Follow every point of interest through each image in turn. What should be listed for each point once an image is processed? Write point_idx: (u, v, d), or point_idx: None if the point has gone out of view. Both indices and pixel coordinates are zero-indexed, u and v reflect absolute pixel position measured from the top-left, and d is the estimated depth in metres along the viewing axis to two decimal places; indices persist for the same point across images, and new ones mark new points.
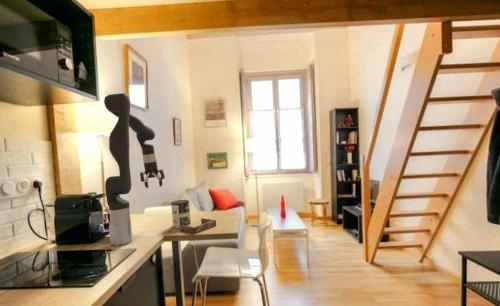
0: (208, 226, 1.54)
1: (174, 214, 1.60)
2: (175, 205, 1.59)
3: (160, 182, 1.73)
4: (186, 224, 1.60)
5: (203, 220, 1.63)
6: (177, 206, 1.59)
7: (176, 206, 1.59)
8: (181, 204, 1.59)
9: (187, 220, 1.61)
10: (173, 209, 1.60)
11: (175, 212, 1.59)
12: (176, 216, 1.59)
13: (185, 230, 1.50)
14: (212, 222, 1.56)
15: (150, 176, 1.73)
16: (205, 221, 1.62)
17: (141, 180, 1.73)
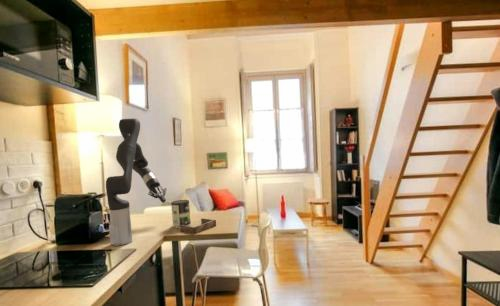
0: (208, 226, 1.54)
1: (174, 214, 1.60)
2: (175, 205, 1.59)
3: (163, 197, 1.74)
4: (186, 224, 1.60)
5: (203, 220, 1.63)
6: (177, 206, 1.59)
7: (176, 206, 1.59)
8: (181, 204, 1.59)
9: (187, 220, 1.61)
10: (173, 209, 1.60)
11: (175, 212, 1.59)
12: (176, 216, 1.59)
13: (185, 230, 1.50)
14: (212, 222, 1.56)
15: (158, 189, 1.77)
16: (205, 221, 1.62)
17: (157, 195, 1.72)
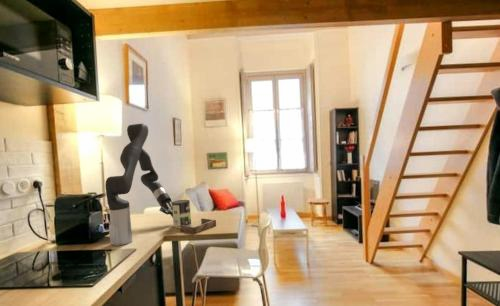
0: (208, 226, 1.54)
1: (175, 214, 1.59)
2: (176, 205, 1.59)
3: None
4: (187, 224, 1.60)
5: (203, 220, 1.63)
6: (178, 206, 1.59)
7: (177, 206, 1.59)
8: (182, 204, 1.59)
9: (187, 220, 1.61)
10: (174, 209, 1.60)
11: (176, 212, 1.59)
12: (177, 216, 1.59)
13: (185, 230, 1.50)
14: (212, 222, 1.56)
15: (169, 205, 1.71)
16: (205, 221, 1.62)
17: (168, 211, 1.66)
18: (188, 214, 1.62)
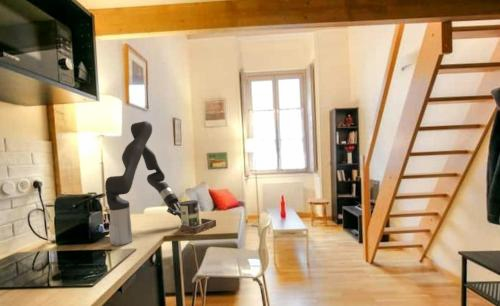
0: (208, 226, 1.54)
1: (183, 215, 1.56)
2: (184, 206, 1.55)
3: None
4: (195, 225, 1.56)
5: (203, 220, 1.63)
6: (186, 207, 1.55)
7: (185, 207, 1.55)
8: (190, 205, 1.55)
9: (196, 221, 1.57)
10: (182, 210, 1.56)
11: (184, 213, 1.55)
12: (185, 217, 1.55)
13: (185, 230, 1.50)
14: (212, 222, 1.56)
15: (177, 206, 1.66)
16: (205, 221, 1.62)
17: (176, 212, 1.62)
18: (197, 215, 1.58)
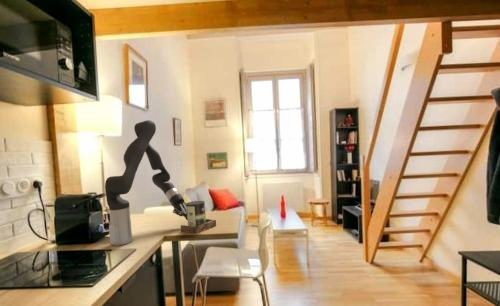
0: (208, 226, 1.54)
1: (190, 216, 1.52)
2: (191, 206, 1.52)
3: None
4: None
5: None
6: (193, 207, 1.51)
7: (192, 207, 1.51)
8: (197, 205, 1.52)
9: (203, 222, 1.54)
10: (189, 211, 1.52)
11: (191, 214, 1.52)
12: (192, 218, 1.52)
13: (185, 230, 1.50)
14: (212, 222, 1.56)
15: (183, 206, 1.63)
16: None
17: (182, 213, 1.59)
18: (203, 216, 1.54)
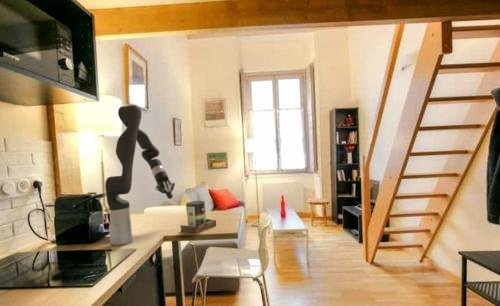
0: (208, 226, 1.54)
1: (190, 216, 1.52)
2: (191, 206, 1.51)
3: (170, 193, 1.67)
4: None
5: None
6: (193, 207, 1.51)
7: (192, 207, 1.51)
8: (197, 205, 1.52)
9: (203, 222, 1.54)
10: (189, 211, 1.52)
11: (191, 214, 1.52)
12: (192, 218, 1.52)
13: (185, 230, 1.50)
14: (212, 222, 1.56)
15: (166, 184, 1.69)
16: None
17: (164, 190, 1.65)
18: (204, 216, 1.54)
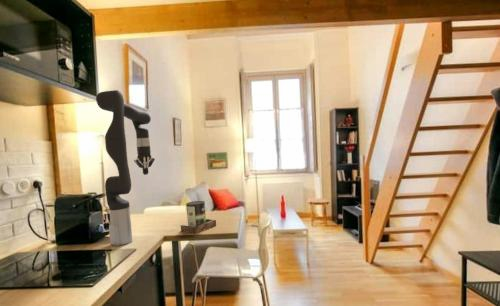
0: (208, 226, 1.54)
1: (190, 216, 1.52)
2: (191, 206, 1.51)
3: None
4: None
5: None
6: (193, 207, 1.51)
7: (192, 207, 1.51)
8: (197, 205, 1.52)
9: (203, 222, 1.54)
10: (189, 211, 1.52)
11: (191, 214, 1.52)
12: (192, 218, 1.52)
13: (185, 230, 1.50)
14: (212, 222, 1.56)
15: (146, 159, 1.69)
16: None
17: (141, 166, 1.66)
18: (204, 216, 1.54)
